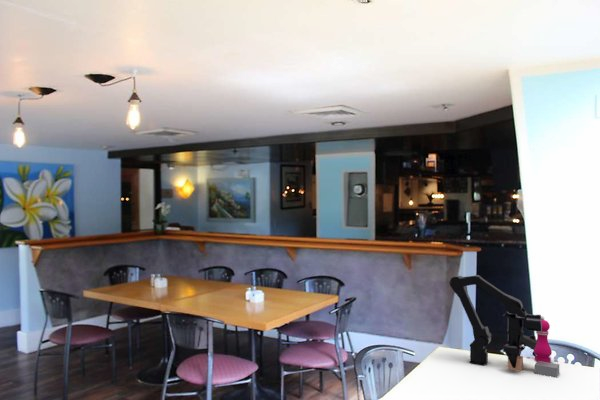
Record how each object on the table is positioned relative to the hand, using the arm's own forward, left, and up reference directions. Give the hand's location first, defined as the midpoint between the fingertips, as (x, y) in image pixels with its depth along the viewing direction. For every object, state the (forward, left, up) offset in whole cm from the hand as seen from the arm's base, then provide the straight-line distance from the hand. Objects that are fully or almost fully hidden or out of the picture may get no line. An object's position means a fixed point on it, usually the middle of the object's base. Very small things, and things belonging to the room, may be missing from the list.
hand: (515, 365), depth 201 cm
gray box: (+12, 0, -1) cm, 12 cm away
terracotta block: (0, 0, -1) cm, 1 cm away
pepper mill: (+8, +19, -1) cm, 21 cm away
